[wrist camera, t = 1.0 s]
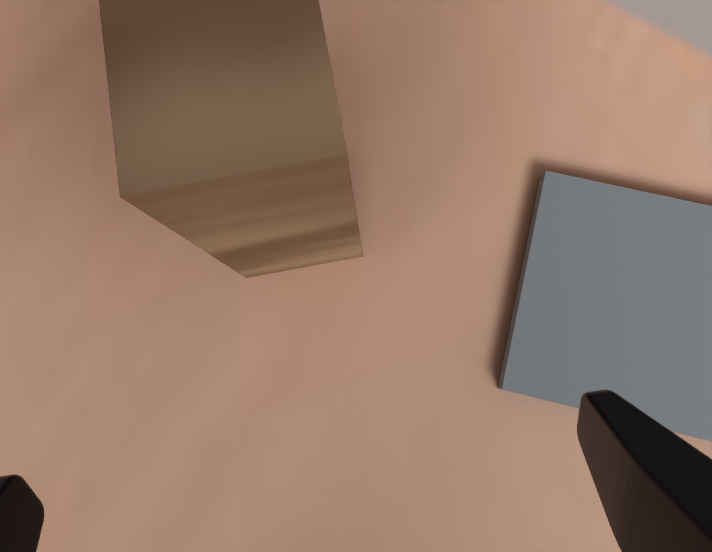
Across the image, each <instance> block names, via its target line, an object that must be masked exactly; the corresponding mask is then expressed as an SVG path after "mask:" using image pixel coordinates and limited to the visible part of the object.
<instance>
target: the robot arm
mask: <svg viewBox="0 0 712 552" xmlns="http://www.w3.org/2000/svg"><path fill="white" fill-rule="evenodd" d="M577 434H578V439H579V443H580V445H581V448H582V451H583V454H584V456H585V459H586V462H587V464H588V467H589V470H590V472H591V475H592V478H593V481H594V483H595V486H596V489H597V491H598V494H599V497H600V499H601V502H602V505H603V508H604V510H605V513H606V516H607V518H608V521H609V524H610V526H611V529H612V531H613V534H614V536H615V538H616V541H617V543H618V545H619V547H620V549H621V551H622V552H712V459H711V458H709V457H708V456H706V455H705V454H703V453H702V452H701V451H699V450H698V449H696V448H695V447H693V446H692V445H690V444H689V443H688V442H686V441H685V440H683V439H682V438H680V437H679V436H677V435H676V434H674V433H673V432H672V431H670V430H669V429H667V428H666V427H664V426H663V425H661V424H660V423H659V422H657V421H656V420H654V419H653V418H651V417H650V416H648V415H647V414H646V413H644V412H643V411H641V410H640V409H638V408H637V407H635V406H634V405H632V404H631V403H630V402H628V401H627V400H625V399H624V398H622V397H621V396H619V395H618V394H617V393H615V392H613V391H611V390H598V391H591V392H586V393H584V394H583V395H582V397H581V401H580V408H579V416H578V423H577ZM43 521H44V507H43V504H42V502H41V501H40V500H39V498H38V497H37V496H36V494H35V493H34V492H33V490H32V489H31V488H30V487H29V485H28V484H27V483H26V481H25V480H24V479H23V478H22V477H21V476H19V475H7V476H0V552H36V550H37V546H38V542H39V538H40V533H41V529H42V525H43Z"/></svg>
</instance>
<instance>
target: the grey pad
mask: <svg viewBox="0 0 712 552" xmlns="http://www.w3.org/2000/svg"><path fill="white" fill-rule="evenodd" d="M498 388H501V389H505V390H509V391H513V392H517V393H521V394H525V395H529V396H533V397H537V398H541V399H545V400H549V401H553V402H557V403H561V404H565V405H569V406H573V407H577V408H580V401H581V397H582V395H583V394H584V393H586V392H591V391H598V390H611V391H613V392H615V393H617V394H618V395H619V396H621V397H622V398H624V399H625V400H627V401H628V402H630V403H631V404H632V405H634V406H635V407H637V408H638V409H640V410H641V411H643V412H644V413H646V414H647V415H648V416H650V417H651V418H653V419H654V420H656V421H657V422H659V423H660V424H661V425H663V426H664V427H666V428H667V429H669V430H670V431H673V432H677V433H681V434H685V435H689V436H693V437H697V438H701V439H705V440H709V441H712V206H710V205H705V204H701V203H696V202H691V201H686V200H682V199H677V198H672V197H668V196H663V195H658V194H654V193H649V192H644V191H640V190H635V189H630V188H626V187H621V186H616V185H612V184H607V183H602V182H598V181H593V180H588V179H583V178H579V177H574V176H569V175H565V174H560V173H555V172H551V171H545V172H544V173H543V174H542V176H541V177H540V180H539V185H538V190H537V195H536V200H535V205H534V210H533V215H532V220H531V224H530V229H529V234H528V239H527V244H526V249H525V254H524V259H523V264H522V269H521V274H520V279H519V284H518V289H517V294H516V299H515V304H514V309H513V314H512V318H511V323H510V328H509V333H508V338H507V343H506V348H505V353H504V358H503V363H502V368H501V373H500V378H499V383H498Z"/></svg>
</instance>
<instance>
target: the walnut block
mask: <svg viewBox="0 0 712 552" xmlns="http://www.w3.org/2000/svg"><path fill="white" fill-rule="evenodd" d="M99 4H100V13H101V23H102V32H103V41H104V51H105V60H106V69H107V79H108V88H109V97H110V107H111V116H112V126H113V135H114V144H115V154H116V163H117V172H118V182H119V191H120V197H121V198H123V199H124V200H126V201H127V202H129V203H130V204H132V205H134V206H135V207H137V208H138V209H140V210H141V211H143V212H145V213H146V214H148V215H149V216H151V217H152V218H154V219H155V220H157V221H159V222H160V223H162V224H163V225H165V226H166V227H168V228H169V229H171V230H173V231H174V232H176V233H177V234H179V235H180V236H182V237H184V238H185V239H187V240H188V241H190V242H191V243H193V244H194V245H196V246H198V247H199V248H201V249H202V250H204V251H205V252H207V253H208V254H210V255H212V256H213V257H215V258H216V259H218V260H219V261H221V262H223V263H224V264H226V265H227V266H229V267H230V268H232V269H233V270H235V271H237V272H238V273H240V274H241V275H243V276H244V277H246V278H247V277H253V276H258V275H263V274H269V273H274V272H280V271H285V270H291V269H296V268H302V267H307V266H312V265H318V264H323V263H329V262H334V261H340V260H345V259H350V258H356V257H361V256H363V254H362V248H361V241H360V235H359V228H358V222H357V215H356V209H355V203H354V196H353V190H352V183H351V177H350V170H349V164H348V158H347V152H346V146H345V141H344V135H343V130H342V125H341V119H340V114H339V109H338V103H337V98H336V92H335V87H334V82H333V76H332V71H331V65H330V60H329V55H328V49H327V44H326V38H325V33H324V28H323V22H322V17H321V11H320V6H319V1H318V0H99Z"/></svg>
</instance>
